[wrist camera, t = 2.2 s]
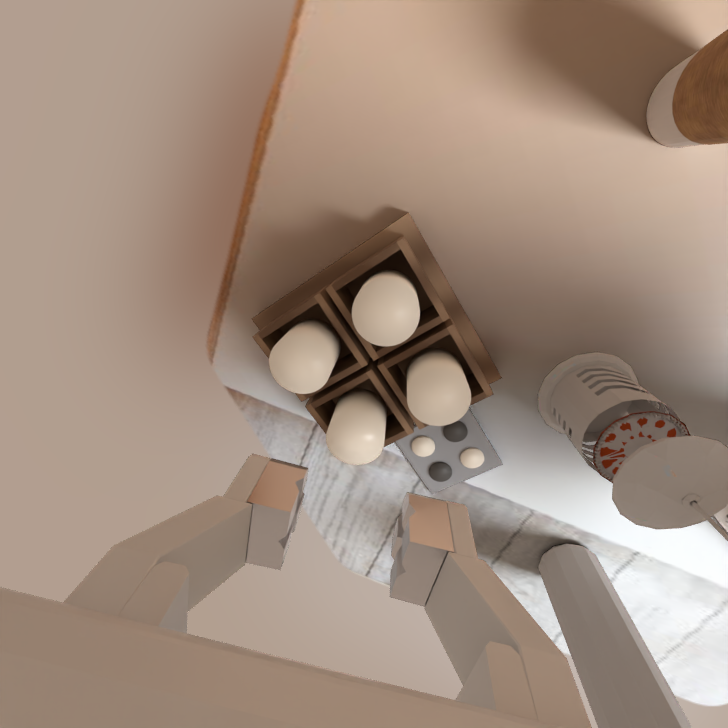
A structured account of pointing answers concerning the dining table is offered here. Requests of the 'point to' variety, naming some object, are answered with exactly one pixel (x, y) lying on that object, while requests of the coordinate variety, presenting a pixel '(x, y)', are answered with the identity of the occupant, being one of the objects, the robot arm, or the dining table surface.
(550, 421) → the french press
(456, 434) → the pattern card
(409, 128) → the dining table surface
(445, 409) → the button
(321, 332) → the button
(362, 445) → the button
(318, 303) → the button board
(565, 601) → the water bottle
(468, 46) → the dining table surface
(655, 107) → the coffee cup
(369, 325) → the button
